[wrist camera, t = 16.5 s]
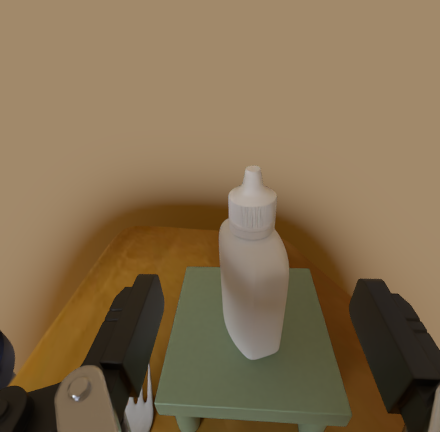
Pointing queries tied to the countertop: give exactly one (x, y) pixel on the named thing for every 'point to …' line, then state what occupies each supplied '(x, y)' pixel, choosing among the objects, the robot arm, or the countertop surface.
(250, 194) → the eye dropper bottle
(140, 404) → the fork
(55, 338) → the countertop surface
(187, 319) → the stool
